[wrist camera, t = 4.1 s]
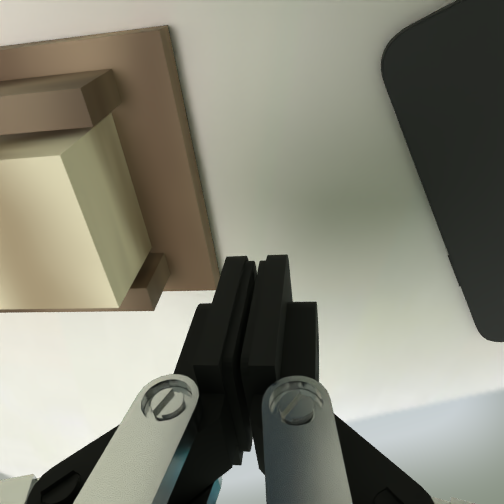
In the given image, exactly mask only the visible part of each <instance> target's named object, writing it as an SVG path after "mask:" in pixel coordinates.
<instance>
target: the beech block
mask: <svg viewBox="0 0 504 504" xmlns="http://www.w3.org/2000/svg"><path fill="white" fill-rule="evenodd" d="M151 248H152V246H151V243H150V239H149V236H148V233H147V229H146V226H145V223H144V220H143V216H142V213H141V210H140V206H139V203H138V200H137V196H136V193H135V190H134V186H133V183H132V180H131V176H130V173H129V170H128V166H127V163H126V160H125V157H124V153H123V150H122V147H121V143H120V140H119V137H118V133H117V130H116V127H115V123H114V120H113V117H112V113H109V114H108V115H107V116H106V117H104V118H103V119H102V120H101V121H100V122H98V123H97V124H96V125H95V126H93V127H85V128H73V129H62V130H51V131H40V132H28V133H17V134H6V135H0V309H76V308H119V307H120V305H121V303H122V301H123V300H124V298H125V296H126V294H127V292H128V290H129V289H130V287H131V285H132V283H133V281H134V279H135V278H136V276H137V274H138V272H139V270H140V268H141V267H142V265H143V263H144V261H145V259H146V257H147V256H148V254H149V252H150V250H151Z"/></svg>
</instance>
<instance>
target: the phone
mask: <svg viewBox="0 0 504 504" xmlns="http://www.w3.org/2000/svg"><path fill="white" fill-rule="evenodd" d="M381 72H382V77H383V81H384V84H385V87H386V89H387V92H388V95H389V97H390V100H391V103H392V105H393V108H394V111H395V113H396V116H397V119H398V121H399V124H400V127H401V129H402V132H403V135H404V137H405V140H406V142H407V145H408V148H409V150H410V153H411V156H412V158H413V161H414V164H415V166H416V169H417V172H418V174H419V177H420V180H421V182H422V185H423V187H424V190H425V193H426V195H427V198H428V201H429V203H430V206H431V209H432V211H433V214H434V217H435V219H436V222H437V225H438V227H439V230H440V232H441V235H442V238H443V240H444V243H445V246H446V248H447V251H448V254H449V255H448V257H449V260H450V262H451V265H452V268H453V270H454V273H455V276H456V278H457V281H458V283H459V286H461V288H462V291H463V293H464V296H465V299H466V301H467V304H468V307H469V309H470V312H471V315H472V317H473V320H474V322H475V325H476V327H477V329H478V331H479V333H480V334H481V335H482V336H483V337H484V338H486V339H487V340H490V341H494V342H504V0H457V1H455V2H453V3H451V4H449V5H447V6H445V7H443V8H441V9H440V10H438V11H436V12H434V13H432V14H430V15H428V16H426V17H424V18H422V19H421V20H419V21H417V22H415V23H413V24H411V25H409V26H408V27H406V28H404V29H403V30H401V31H400V32H399V33H397V34H396V35H395V36H394V37H393V38H392V39H391V40H390V42H389V43H388V44H387V46H386V48H385V50H384V52H383V55H382V59H381Z"/></svg>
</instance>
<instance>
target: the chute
mask: <svg viewBox="0 0 504 504" xmlns="http://www.w3.org/2000/svg"><path fill="white" fill-rule="evenodd" d="M109 113H112V117H113V120H114V123H115V127H116V130H117V133H118V137H119V140H120V143H121V147H122V150H123V153H124V157H125V160H126V163H127V166H128V170H129V173H130V176H131V180H132V183H133V186H134V190H135V193H136V196H137V200H138V203H139V206H140V210H141V213H142V216H143V220H144V223H145V226H146V229H147V233H148V236H149V239H150V243H151V246H152V248H151V250H150V252H149V254H148V256H147V257H146V259H145V261H144V263H143V265H142V267H141V268H140V270H139V272H138V274H137V276H136V278H135V279H134V281H133V283H132V285H131V287H130V289H129V290H128V292H127V294H126V296H125V298H124V300H123V301H122V303H121V305H120V307H119V308H76V309H0V313H6V312H95V311H154V310H155V307H156V305H157V303H158V301H159V298H160V296H161V294H162V292H163V291H198V290H216V288H217V285H218V282H219V279H220V273H219V268H218V264H217V259H216V254H215V249H214V245H213V240H212V235H211V230H210V225H209V221H208V216H207V211H206V206H205V201H204V197H203V192H202V187H201V182H200V177H199V173H198V168H197V163H196V158H195V154H194V149H193V144H192V139H191V134H190V130H189V125H188V120H187V115H186V110H185V106H184V101H183V96H182V91H181V87H180V82H179V77H178V72H177V67H176V63H175V58H174V53H173V48H172V43H171V39H170V34H169V29H168V25H166V26H158V27H151V28H143V29H135V30H127V31H119V32H111V33H104V34H96V35H88V36H80V37H72V38H64V39H56V40H49V41H41V42H33V43H25V44H17V45H9V46H1V47H0V135H6V134H17V133H28V132H40V131H51V130H62V129H73V128H85V127H93V126H95V125H96V124H97V123H98V122H100V121H101V120H102V119H103V118H104V117H106V116H107V115H108V114H109Z"/></svg>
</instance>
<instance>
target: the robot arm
mask: <svg viewBox="0 0 504 504" xmlns="http://www.w3.org/2000/svg"><path fill="white" fill-rule="evenodd" d="M252 439H253V440H254V445H255V450H256V454H257V460H258V465H259V469H260V470H261V471H262V472H263V474H264V475H265V482H266V502H267V504H475V503H471V502H468V501H464V500H460V499H457V498H453V497H451V499H450V502H448V501H445V500H441V499H437V498H434V497H431V496H430V495H429V494H428V493H427V492H426V491H425V490H424V489H423V488H422V487H421V486H420V485H419V484H418V483H417V482H415V481H414V480H413V479H412V478H411V477H409V476H408V475H407V474H406V473H405V472H403V471H402V470H401V469H400V468H399V467H397V466H396V465H395V464H394V463H393V462H391V461H390V460H389V459H388V458H387V457H385V456H384V455H383V454H382V453H381V452H379V451H378V450H377V449H375V447H373V446H372V445H371V444H370V443H369V442H367V441H366V440H365V439H364V438H363V437H361V436H360V435H359V434H358V433H357V432H355V431H354V430H353V429H352V428H351V427H349V426H348V425H347V424H346V423H345V422H343V421H342V420H341V419H340V418H339V417H337V416H336V415H335V414H334V413H333V408H332V404H331V399H330V396H329V394H328V392H327V390H326V389H325V388H324V386H323V385H322V384H321V383H319V334H318V314H317V302H293V301H292V291H291V280H290V270H289V260H288V255H268V256H267V259H266V261H260V262H259V267H258V272H257V271H256V264H255V261H248V258H247V256H233V257H226V260H225V263H224V266H223V269H222V272H221V276H220V279H219V282H218V285H217V288H216V292H215V295H214V298H213V301H212V303H207V304H199V305H198V307H197V309H196V311H195V314H194V317H193V320H192V323H191V325H190V328H189V331H188V334H187V337H186V340H185V343H184V345H183V348H182V351H181V354H180V357H179V360H178V362H177V365H176V368H175V371H174V374H169V375H165V376H161V377H159V378H157V379H154V380H152V381H151V382H150V383H148V384H147V385H146V386H144V387H143V389H142V390H141V391H140V392H139V394H138V395H137V397H136V398H135V400H134V402H133V403H132V405H131V407H130V408H129V410H128V412H127V413H126V415H125V417H124V418H123V420H122V422H121V423H120V425H118V426H117V427H115V428H113V429H112V430H110V431H109V432H107V433H106V434H104V435H102V436H101V437H99V438H98V439H96V440H95V441H93V442H91V443H90V444H88V445H87V446H85V447H84V448H82V449H80V450H79V451H77V452H76V453H74V454H73V455H71V456H69V457H68V458H66V459H65V460H63V461H62V462H60V463H59V464H57V465H55V466H54V467H52V468H51V469H50V470H49V471H47V472H46V473H45V474H43V475H42V476H41V478H36V477H35V475H34V474H31V475H26V476H20V477H15V478H9V479H4V480H0V504H216V500H217V498H218V494H219V491H220V489H221V484H222V475H223V474H224V473H226V472H227V471H228V470H229V469H231V468H232V465H241V464H242V457H243V451H247V452H250V450H251V446H252Z"/></svg>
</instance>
